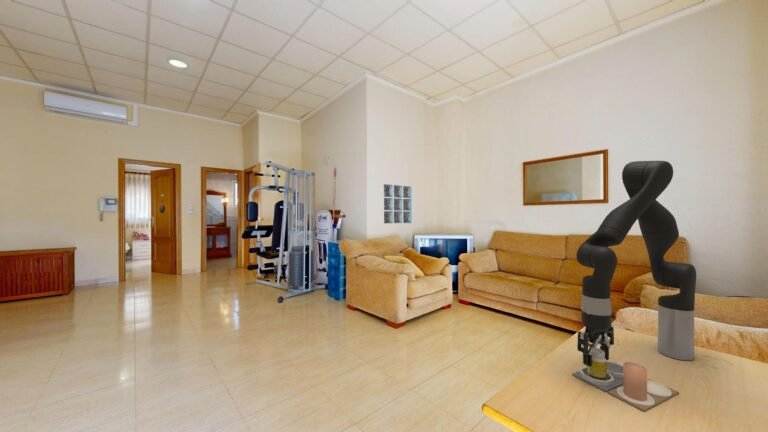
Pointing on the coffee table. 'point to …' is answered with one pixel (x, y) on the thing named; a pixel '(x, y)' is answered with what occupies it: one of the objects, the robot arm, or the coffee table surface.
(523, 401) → the coffee table surface
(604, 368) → the supplement bottle
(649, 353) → the coffee table surface
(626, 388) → the board
